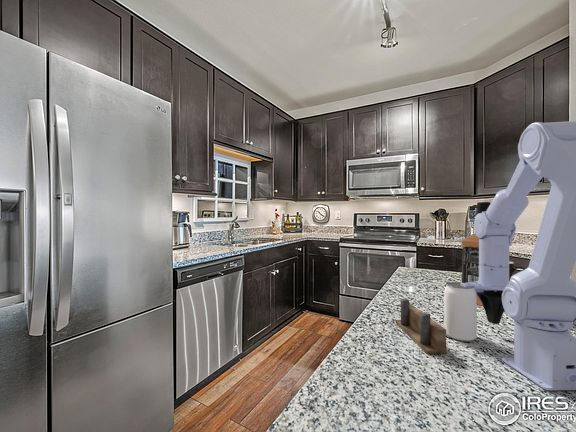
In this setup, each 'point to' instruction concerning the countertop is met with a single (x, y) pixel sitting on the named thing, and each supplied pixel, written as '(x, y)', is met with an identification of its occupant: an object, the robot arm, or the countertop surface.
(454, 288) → the can
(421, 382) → the countertop surface
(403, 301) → the rail
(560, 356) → the robot arm
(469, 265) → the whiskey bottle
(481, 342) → the countertop surface
